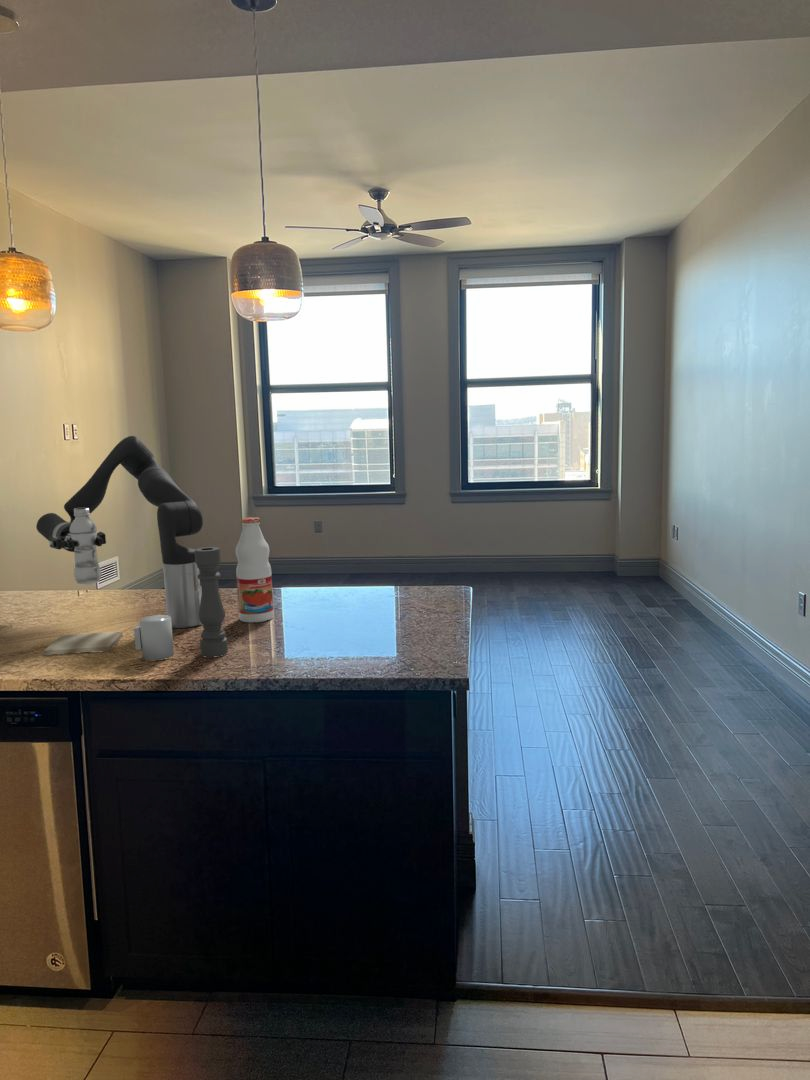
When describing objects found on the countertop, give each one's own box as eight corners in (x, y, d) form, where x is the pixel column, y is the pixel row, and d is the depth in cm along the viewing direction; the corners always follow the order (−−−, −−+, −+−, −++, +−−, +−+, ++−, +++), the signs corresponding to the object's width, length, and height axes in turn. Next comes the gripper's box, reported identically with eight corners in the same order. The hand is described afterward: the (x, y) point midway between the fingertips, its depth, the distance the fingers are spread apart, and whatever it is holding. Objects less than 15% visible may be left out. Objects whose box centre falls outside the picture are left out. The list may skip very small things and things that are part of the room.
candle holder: (217, 648, 181) (210, 545, 177) (233, 652, 177) (226, 548, 173) (195, 654, 177) (187, 549, 173) (211, 659, 173) (204, 552, 169)
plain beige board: (122, 636, 194) (122, 631, 194) (109, 651, 181) (109, 646, 181) (61, 639, 192) (61, 635, 192) (44, 655, 179) (44, 650, 179)
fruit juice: (266, 612, 214) (260, 515, 209) (279, 619, 206) (273, 518, 201) (234, 617, 209) (228, 518, 204) (246, 625, 201) (239, 521, 196)
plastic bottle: (92, 587, 194) (85, 510, 191) (69, 586, 195) (61, 510, 192) (107, 581, 200) (100, 507, 197) (84, 580, 202) (77, 506, 198)
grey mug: (176, 650, 180) (173, 614, 179) (171, 659, 173) (168, 621, 172) (140, 652, 179) (137, 616, 178) (134, 662, 172) (131, 624, 171)
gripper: (40, 525, 202) (55, 532, 189) (95, 520, 211) (114, 526, 198) (43, 553, 203) (58, 561, 190) (98, 546, 212) (116, 554, 199)
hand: (86, 543), depth 194 cm, fingers closed on plastic bottle, 6 cm apart
